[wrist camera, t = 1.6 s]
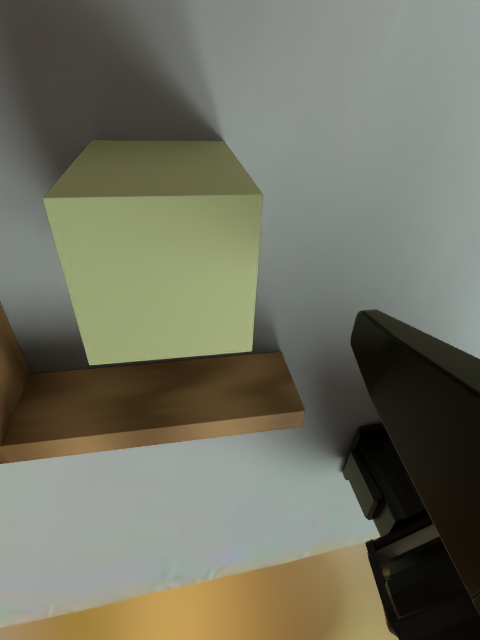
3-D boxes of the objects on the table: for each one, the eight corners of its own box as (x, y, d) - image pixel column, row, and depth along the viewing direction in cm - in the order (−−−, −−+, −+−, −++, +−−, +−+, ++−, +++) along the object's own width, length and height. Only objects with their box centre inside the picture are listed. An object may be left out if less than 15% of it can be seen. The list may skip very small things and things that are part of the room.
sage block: (224, 140, 14) (262, 194, 9) (223, 256, 17) (251, 351, 12) (91, 139, 14) (42, 197, 8) (114, 261, 17) (89, 365, 11)
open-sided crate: (346, -142, 11) (441, -246, 7) (279, 366, 22) (302, 426, 19) (-281, -230, 8) (-626, -453, 5) (12, 392, 20) (-21, 466, 16)
